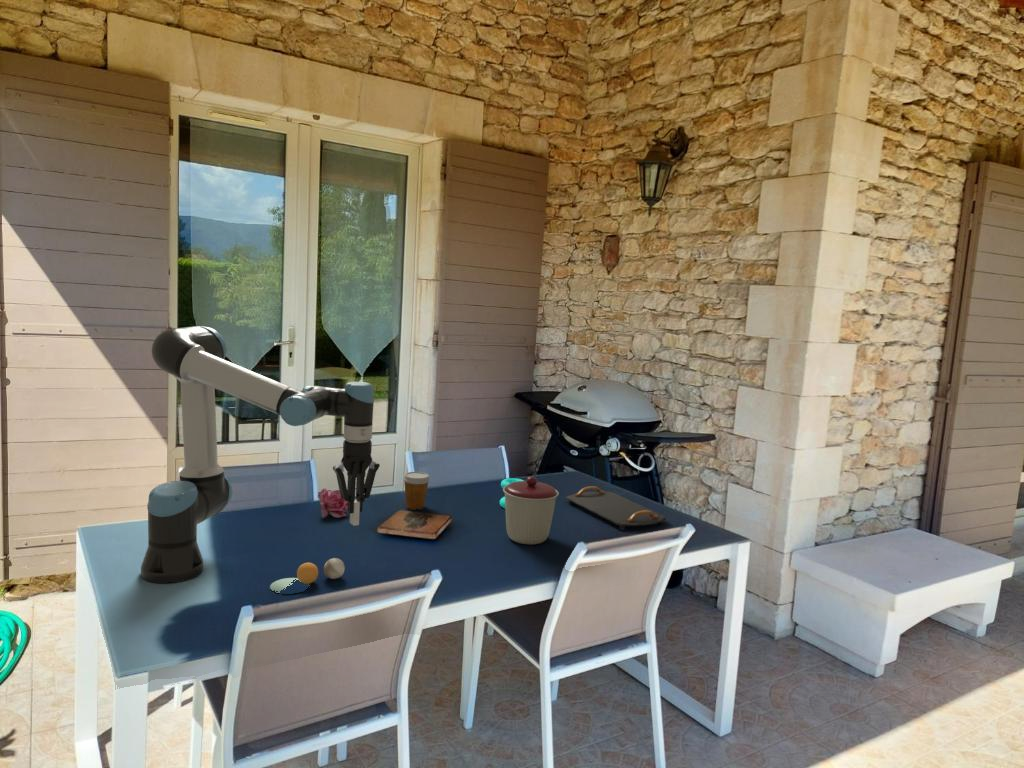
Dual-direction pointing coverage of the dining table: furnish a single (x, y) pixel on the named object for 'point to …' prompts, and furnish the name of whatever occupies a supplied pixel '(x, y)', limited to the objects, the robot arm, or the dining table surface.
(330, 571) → the ivory ball
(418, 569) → the dining table surface
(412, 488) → the disposable coffee cup
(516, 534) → the canister
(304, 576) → the orange ball
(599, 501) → the serving board
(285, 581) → the pale green flat disc
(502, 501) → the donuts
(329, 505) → the flower
